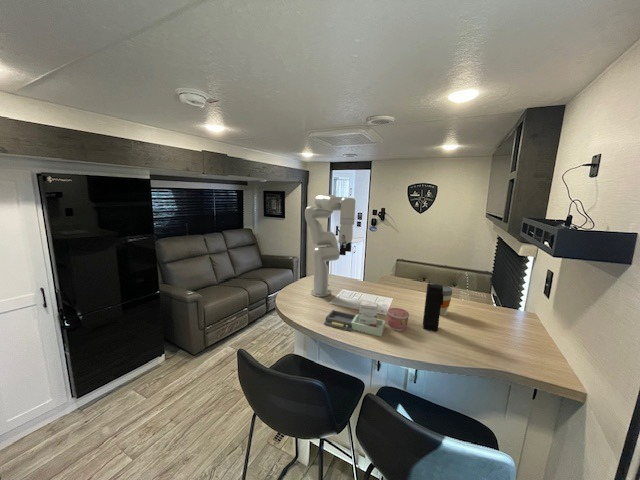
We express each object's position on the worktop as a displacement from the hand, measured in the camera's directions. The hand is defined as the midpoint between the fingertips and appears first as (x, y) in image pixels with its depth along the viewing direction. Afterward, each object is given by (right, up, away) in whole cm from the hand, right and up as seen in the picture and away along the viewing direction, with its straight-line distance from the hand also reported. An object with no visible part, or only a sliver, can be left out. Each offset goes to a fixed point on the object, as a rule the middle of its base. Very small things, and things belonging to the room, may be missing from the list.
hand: (345, 253), depth 137 cm
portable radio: (+43, -38, -7) cm, 58 cm away
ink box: (+10, -36, -9) cm, 39 cm away
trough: (+10, -37, -10) cm, 40 cm away
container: (+25, -37, -7) cm, 46 cm away
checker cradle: (-2, -36, -4) cm, 36 cm away
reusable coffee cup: (+55, -35, +12) cm, 66 cm away
